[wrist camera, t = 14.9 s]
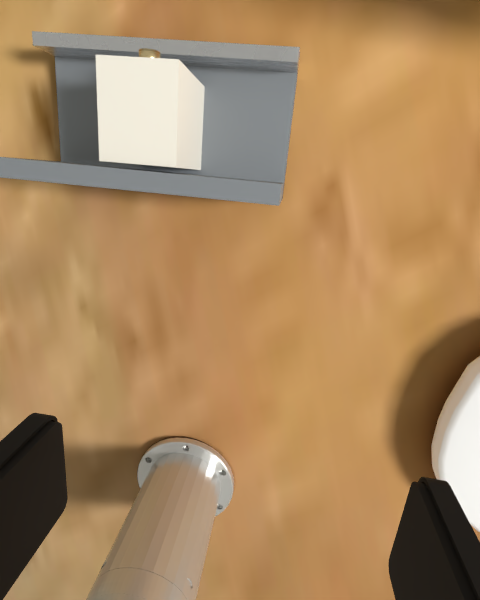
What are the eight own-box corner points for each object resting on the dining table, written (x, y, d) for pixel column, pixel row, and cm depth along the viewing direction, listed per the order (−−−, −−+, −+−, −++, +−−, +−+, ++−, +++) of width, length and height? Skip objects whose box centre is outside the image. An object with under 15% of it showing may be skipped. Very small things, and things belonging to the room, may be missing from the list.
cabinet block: (200, 170, 35) (176, 167, 28) (139, 164, 36) (99, 160, 28) (205, 73, 33) (179, 42, 25) (139, 69, 33) (95, 37, 26)
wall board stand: (282, 198, 37) (279, 205, 27) (70, 177, 39) (-2, 177, 29) (299, 57, 33) (302, 8, 23) (63, 43, 35) (-22, -8, 25)
